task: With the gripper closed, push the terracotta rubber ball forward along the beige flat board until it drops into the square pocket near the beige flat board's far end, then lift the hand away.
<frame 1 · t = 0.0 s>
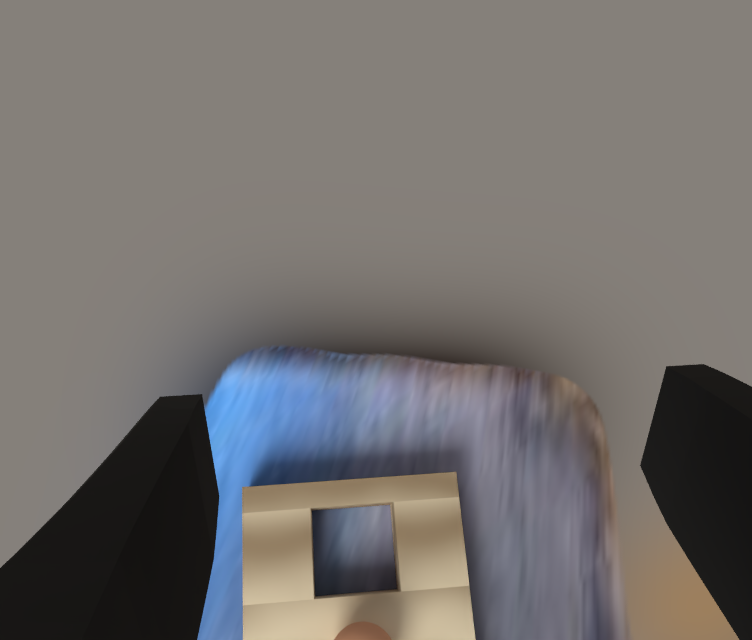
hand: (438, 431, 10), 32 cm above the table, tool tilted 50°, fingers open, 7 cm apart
beige flat board: (359, 638, 38), on the table
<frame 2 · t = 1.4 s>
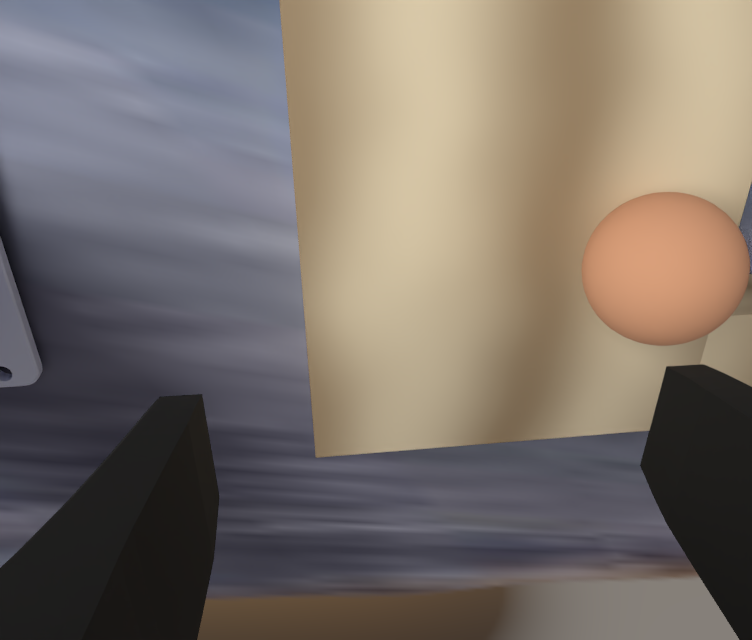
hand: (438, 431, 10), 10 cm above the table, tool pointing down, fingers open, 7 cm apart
ball: (661, 269, 15), point 4 cm above the table, touching beige flat board
beige flat board: (606, 207, 19), on the table
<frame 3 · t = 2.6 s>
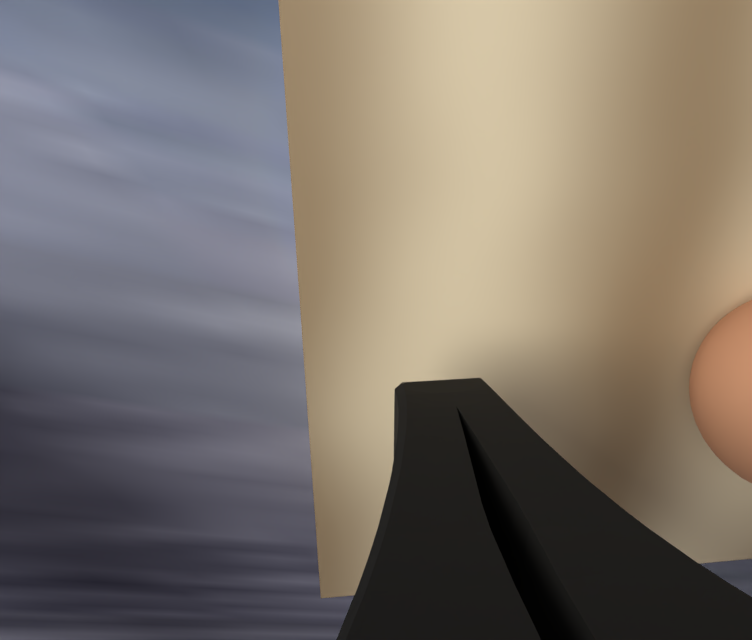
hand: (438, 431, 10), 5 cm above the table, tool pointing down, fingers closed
beige flat board: (698, 281, 15), on the table
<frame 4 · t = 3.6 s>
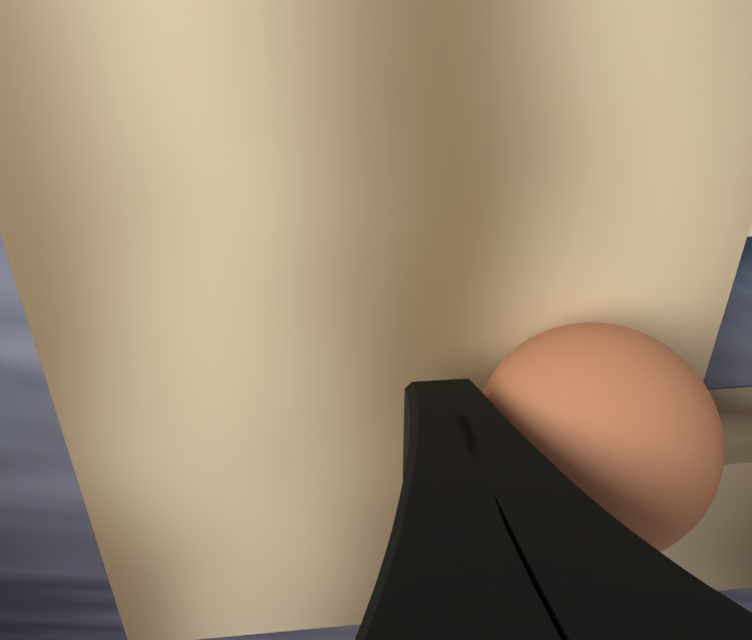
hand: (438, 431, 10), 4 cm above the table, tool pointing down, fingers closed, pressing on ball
ball: (591, 439, 10), point 4 cm above the table, touching beige flat board, gripper
beige flat board: (532, 307, 14), on the table
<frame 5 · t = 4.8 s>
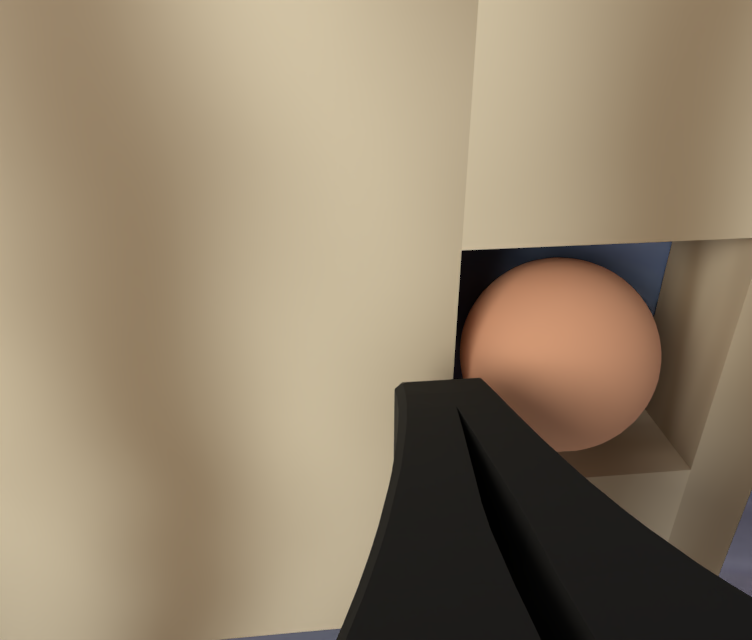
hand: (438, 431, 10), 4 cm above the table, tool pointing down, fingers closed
ball: (556, 353, 12), point 2 cm above the table, tilted 130°
beige flat board: (308, 319, 13), on the table
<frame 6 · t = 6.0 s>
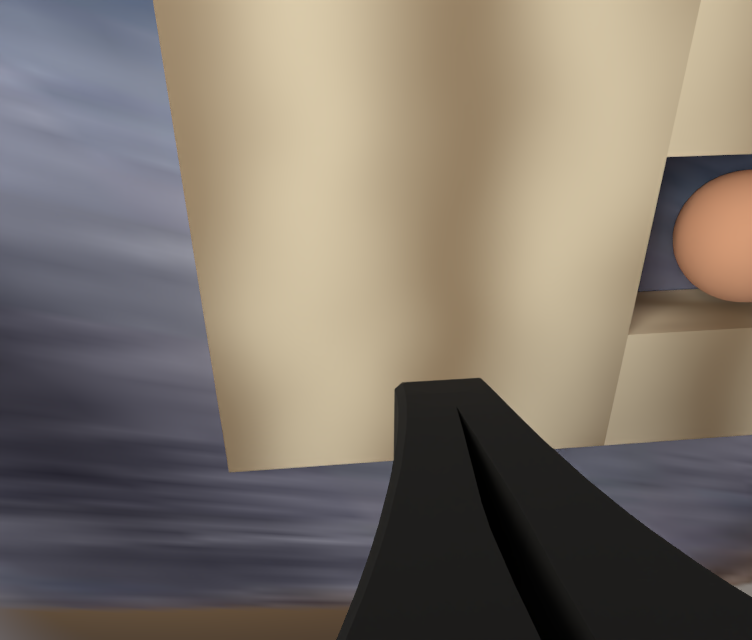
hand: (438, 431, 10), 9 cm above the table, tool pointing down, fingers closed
ball: (744, 236, 17), point 2 cm above the table, tilted 164°
beige flat board: (523, 222, 19), on the table
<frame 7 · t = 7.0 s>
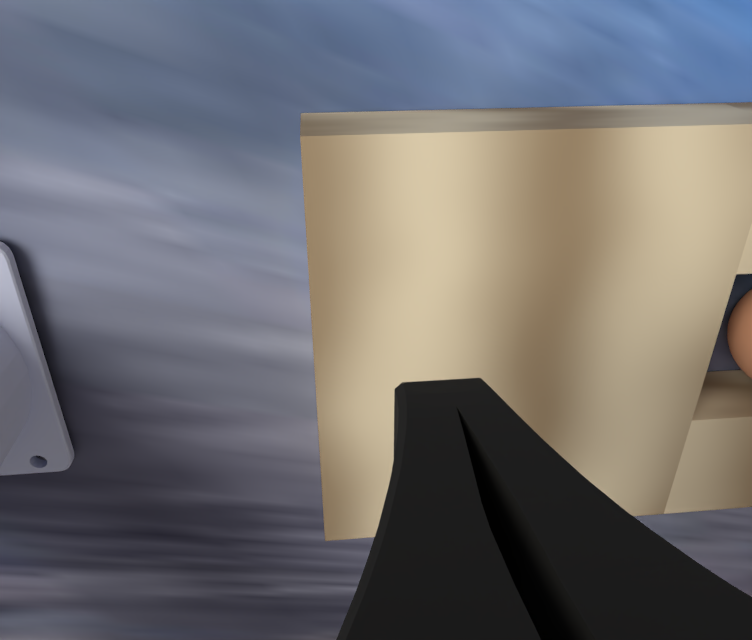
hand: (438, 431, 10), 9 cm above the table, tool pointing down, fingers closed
beige flat board: (595, 315, 20), on the table
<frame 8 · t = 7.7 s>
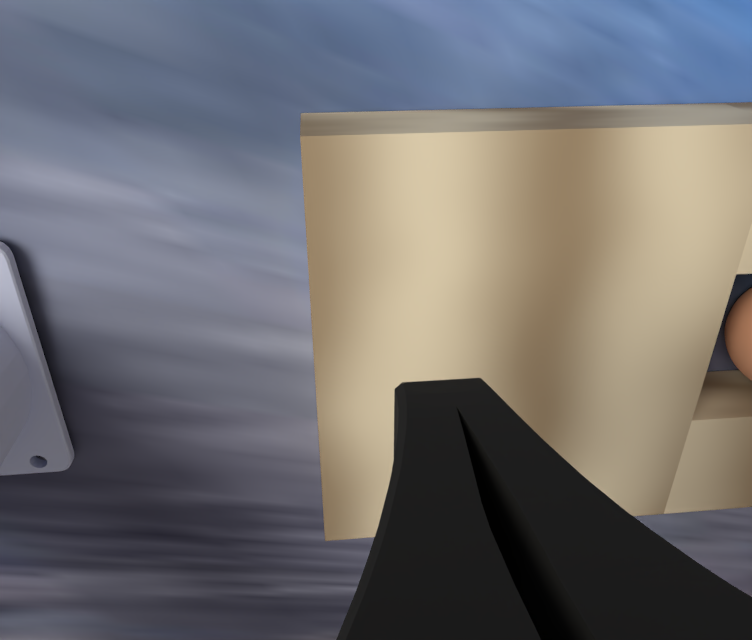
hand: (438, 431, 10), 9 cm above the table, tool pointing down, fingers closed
beige flat board: (595, 315, 20), on the table
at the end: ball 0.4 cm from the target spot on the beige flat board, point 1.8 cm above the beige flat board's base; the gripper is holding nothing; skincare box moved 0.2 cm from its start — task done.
